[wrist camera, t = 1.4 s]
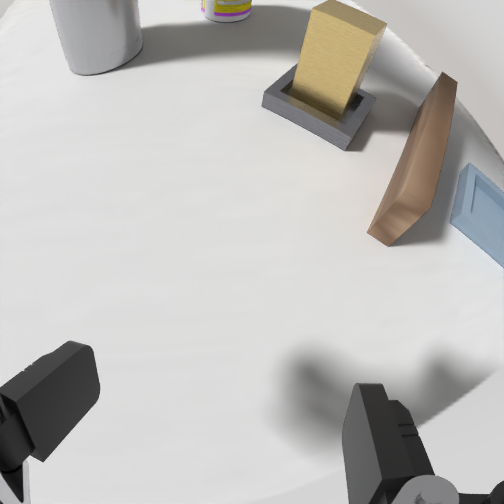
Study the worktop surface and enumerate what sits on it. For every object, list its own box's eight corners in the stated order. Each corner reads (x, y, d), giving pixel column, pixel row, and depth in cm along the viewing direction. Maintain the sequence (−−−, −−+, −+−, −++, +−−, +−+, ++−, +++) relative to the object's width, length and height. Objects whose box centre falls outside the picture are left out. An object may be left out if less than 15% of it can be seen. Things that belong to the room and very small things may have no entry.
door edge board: (366, 232, 23) (404, 190, 18) (419, 107, 31) (442, 71, 25) (387, 246, 23) (430, 208, 17) (433, 117, 30) (457, 82, 25)
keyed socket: (449, 222, 25) (461, 213, 23) (460, 171, 28) (469, 162, 26) (507, 271, 24) (519, 264, 22) (512, 217, 26) (522, 210, 25)
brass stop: (288, 100, 27) (312, 8, 18) (307, 82, 29) (331, -2, 19) (336, 125, 26) (375, 35, 17) (351, 105, 28) (387, 23, 19)
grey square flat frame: (261, 106, 27) (264, 91, 26) (298, 72, 30) (301, 59, 28) (344, 150, 26) (351, 137, 24) (370, 110, 29) (376, 98, 27)
